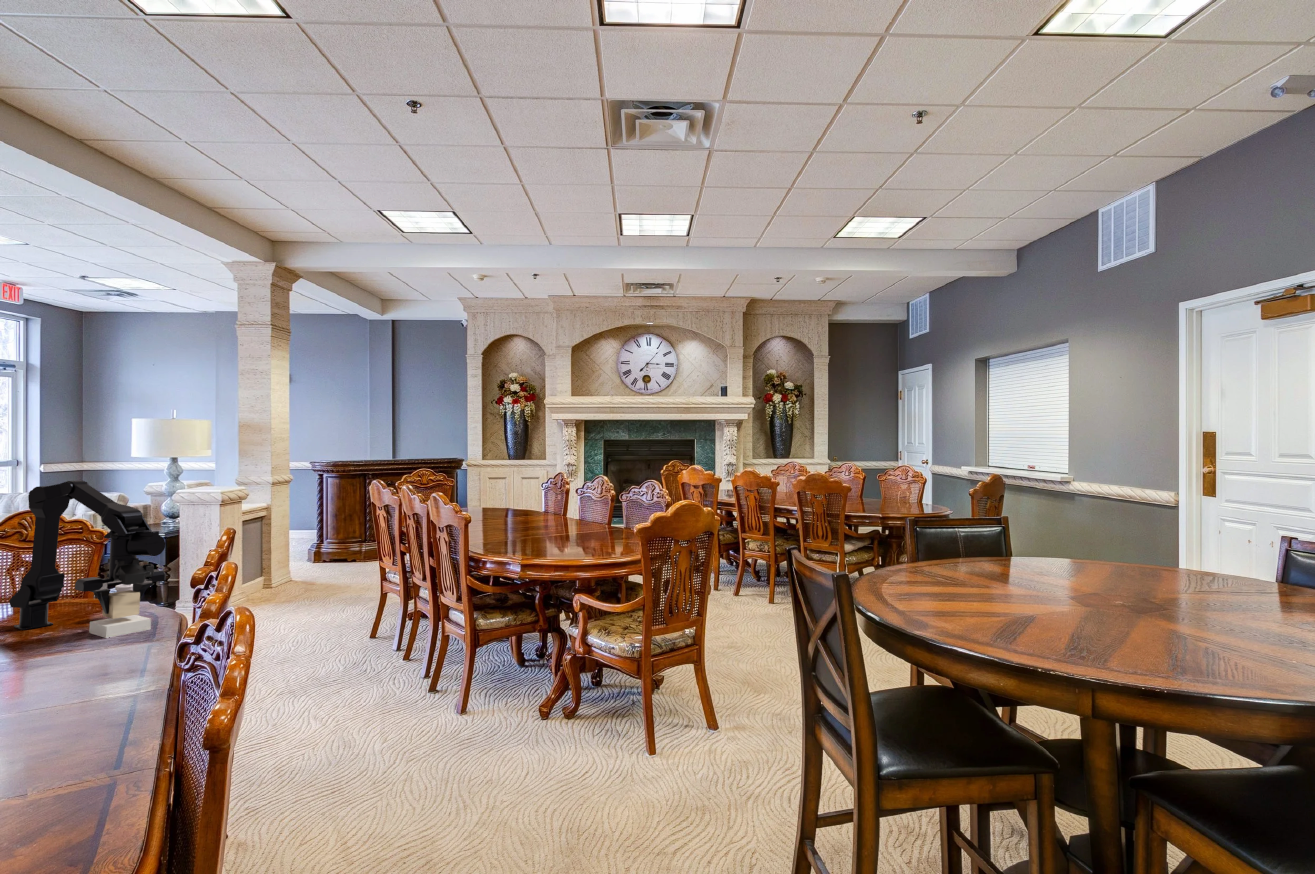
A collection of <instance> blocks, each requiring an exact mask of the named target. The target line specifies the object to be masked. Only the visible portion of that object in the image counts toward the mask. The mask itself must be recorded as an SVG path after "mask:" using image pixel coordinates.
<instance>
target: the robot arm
mask: <svg viewBox="0 0 1315 874" xmlns="http://www.w3.org/2000/svg"><path fill="white" fill-rule="evenodd" d="M27 497H28V500H27V501H28V508H29V510H30V512H31V513H32V514H33V516H34V517H35V523H34V530H33V531H34V532H33V533H34V535H33V540H32V541H33V544H32V554H31V563H30V565H31V566H30V569H29V570H28V571H27V573H25V574H24V576H23V578H22V580H21V583H20V588H19V589H18V590H17V591H16V593H15V594H14V595H13V596H11V598H10V599H8V601H9V605H10V608H16V609H17V608H18V609H19V623H18V624H14V625H13V628H15V629H17V630H18V629H19V630H21V631H24V630H30V629H39V628H43V627H49V626H53V625H54V623H53V622H50V621H48V620H49V619H48V618H49V603H55V602H58V599H59V597H60V595H61V592H63V591H62V590H63V588H64V587H65V582H64V581H65V573H61V572H59V570H58V569H57V567H56V565H57V552H58V542H59V531H60V520H61V516H62V515H63V514H64V513H65V511H66V510H67V509H69V505H70V502H71V500H75V501H77V502H78V503H80V504H82V505H83V506H84V507H86V508H88V509H89V510H90V511H93V513H95V514H97V515H98V516H99V517H100V520H101V523H102V524H103V525H104V526H105V527H106V528H107V529H108V530H110V531H109V532H107V533H106V534H105V535H104V536H103V538H104V539H108V540H110V541H109V542H110V544H109V547H110V548H109V558H107V563H109V567H108V570H109V571H108V573H107V574H106V578H101V577H96V576H93V577H92V576H91V577H84V578H78V579H77V580H76V581H75V583H74V590H76V591H79V592H84V593H85V592H90V593H93V594H94V595H95V597H96V598H97V600H98V602H99V604H100V606H101V608H102V611H103V610H104V612H105V614H108V613H109V593H111V589H109V588H108V586H113V585H121V584H124V585H131V584H133V591H136V592H140V601H141V600H142V598H143V596H144V594H145V592H146V591H147V590H148V588H149V587H151V586H154V585H155V583H158V582H164V581H166V580H167V578H166V577H167V574H166V572H165V571H164V570H161V569H155V566H154V564H153V563H147V564H142V565H140V560H139V557H138V556H143V557H147V556H148V557H157V556H159V555H161V554H162V553H163V552H164V551H165V548H166V540H165V538H164V537H163V536H162V535H160V531H159V530H152V528H151V526H150V525H149V524H148V522H147V520H146V519H145V518H144V516H143V512H142V511H141V510H140V509H138V508H135V507H133V506H130V505H126V504H122V503H118V502H116V501H115V500H113V499H111V498H110V497H108V496H107V495H106V494H104V493H102V492H100V491H99V490H97V489H96V488H94V487H93V486H91V485H90V484H89V483H88V482H87V481H85V480H67V481H63V482H61V483H57V484H53V485H45V486H43V485H42V486H41V485H39V486H35V487H33V488H32V490H30V491H29V493H28V496H27Z"/></svg>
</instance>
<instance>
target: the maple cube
mask: <svg viewBox="0 0 1315 874" xmlns="http://www.w3.org/2000/svg"><path fill="white" fill-rule="evenodd" d="M140 603H141V600H140V592H136V591H131V590H127V591H120V592H117V591H113V592H110V593H109V613H108V614H105V612H104V610H103V609H102V617H105V618H107V619H109V618H112V619H114V618H120V617H126V616H132V615H140V606H141V605H140Z"/></svg>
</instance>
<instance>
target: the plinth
mask: <svg viewBox="0 0 1315 874" xmlns="http://www.w3.org/2000/svg"><path fill="white" fill-rule="evenodd" d="M151 629H152V618H151V617H146V616H141V615H140V614H137V615H132V616H126V617H120V618H114V619H112V618H105V619H104V618H103V619H99V620H93V621H90V622H89V634H92V635H95V636H98V637H102V638H103V639H109V637H110V638H115V637H120V636H125V635H130V634H135V633H139V632H141V633H142V632H145V631H149V630H151Z"/></svg>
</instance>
